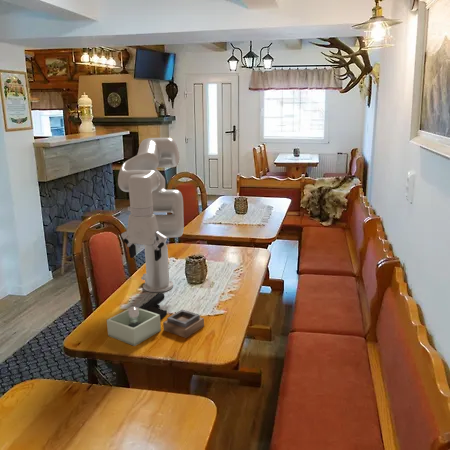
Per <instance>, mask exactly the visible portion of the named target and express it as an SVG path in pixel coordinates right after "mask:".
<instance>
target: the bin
mask: <svg viewBox="0 0 450 450" xmlns="http://www.w3.org/2000/svg"><path fill="white" fill-rule="evenodd" d="M132 307H135V306H132ZM138 310H139V320H140V323H141V324H140V325H138V326H136V327H134V328H132V327H130V326H128V325H129V324H130V322H129V313H128V308H127V309H125V310H124V311H121V312H120V313H118V314H115V315H114V316H111V317H110V318H108V319H106V325H107V326H106V327H107V337H110V338H113V339H116V340H118V341H120V342H123V343H125V344H128V345H131V346H134V347H136V346H137V345H139V344H141V343H142V342H144V341H146V340H147V339H149V338H151V337H152V336H154V335H156V334H158V333H159V332H161V331H162V328H161V320H160V315H159V314H156V313H153V312H150V311H147V310H144V309H140V308H139V307H138Z"/></svg>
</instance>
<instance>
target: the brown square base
mask: <svg viewBox="0 0 450 450" xmlns="http://www.w3.org/2000/svg"><path fill="white" fill-rule="evenodd" d="M166 318H167V319H166V320H165V321H163V323H162V324H163V331H165V332H168V333H171V334H174V335H177V336H180V337H182V338H189V337H190V336H192V334H194V333H196V332H198V331H199V330H201V329H202V328H203V327H205V318H203V317H201V315H200V314H198V313H196V312H195V313H194V312H191V311H188V310H186V309H180V310H179V311H177V312H175V313H173V314H172V315H170V316H169V317H166Z"/></svg>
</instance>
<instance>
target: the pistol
mask: <svg viewBox="0 0 450 450" xmlns="http://www.w3.org/2000/svg"><path fill="white" fill-rule="evenodd" d="M164 299H165V293H163V292H157V293H156V295H154V296H153V297H151V298H150V299H149V300H148V301H147V302H145V303H143V304H141V305H140V306H139V307H138V308H140V309H144V310H147V311H150V312H153V313H156V314H159V315H160V321H162V320H163V319H164V317H166V316H167V315H168V311H167V309H165V310H164V309H161V305H160V303H161V302H162V301H163V300H164Z"/></svg>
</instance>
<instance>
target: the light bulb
mask: <svg viewBox="0 0 450 450" xmlns="http://www.w3.org/2000/svg"><path fill="white" fill-rule="evenodd" d="M138 308H139V307H138V306H134V307H133V306H130V307H129V308H127V309H128V313H129V322H130V324H129V325H128V326H130V327H132V328H134V327H136V326H138V325H140V324H141V323H140V320H139V310H138Z"/></svg>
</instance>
